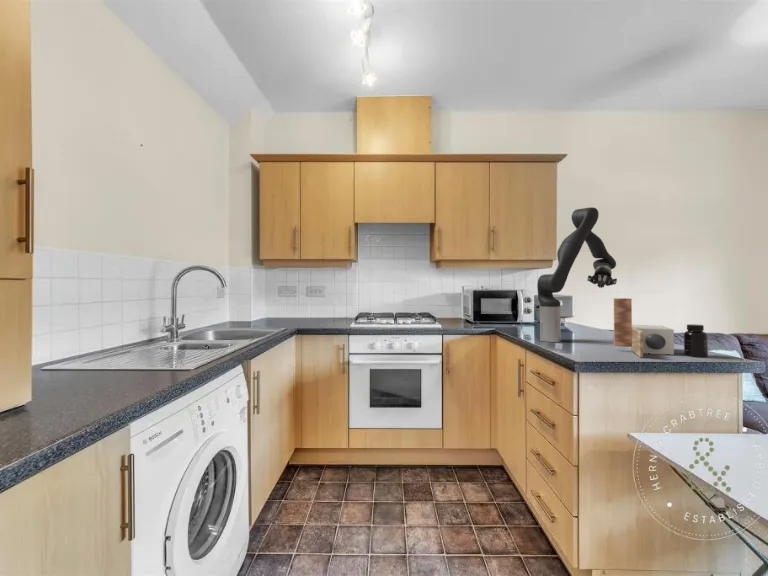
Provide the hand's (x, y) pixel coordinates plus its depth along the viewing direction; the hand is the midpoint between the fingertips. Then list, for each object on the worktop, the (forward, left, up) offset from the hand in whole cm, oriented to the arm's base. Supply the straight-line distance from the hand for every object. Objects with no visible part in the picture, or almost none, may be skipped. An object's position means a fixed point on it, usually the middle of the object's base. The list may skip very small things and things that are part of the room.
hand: (600, 285), depth 164 cm
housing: (+15, -16, -27) cm, 35 cm away
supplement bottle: (+28, -22, -27) cm, 45 cm away
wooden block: (+5, -27, -27) cm, 39 cm away
